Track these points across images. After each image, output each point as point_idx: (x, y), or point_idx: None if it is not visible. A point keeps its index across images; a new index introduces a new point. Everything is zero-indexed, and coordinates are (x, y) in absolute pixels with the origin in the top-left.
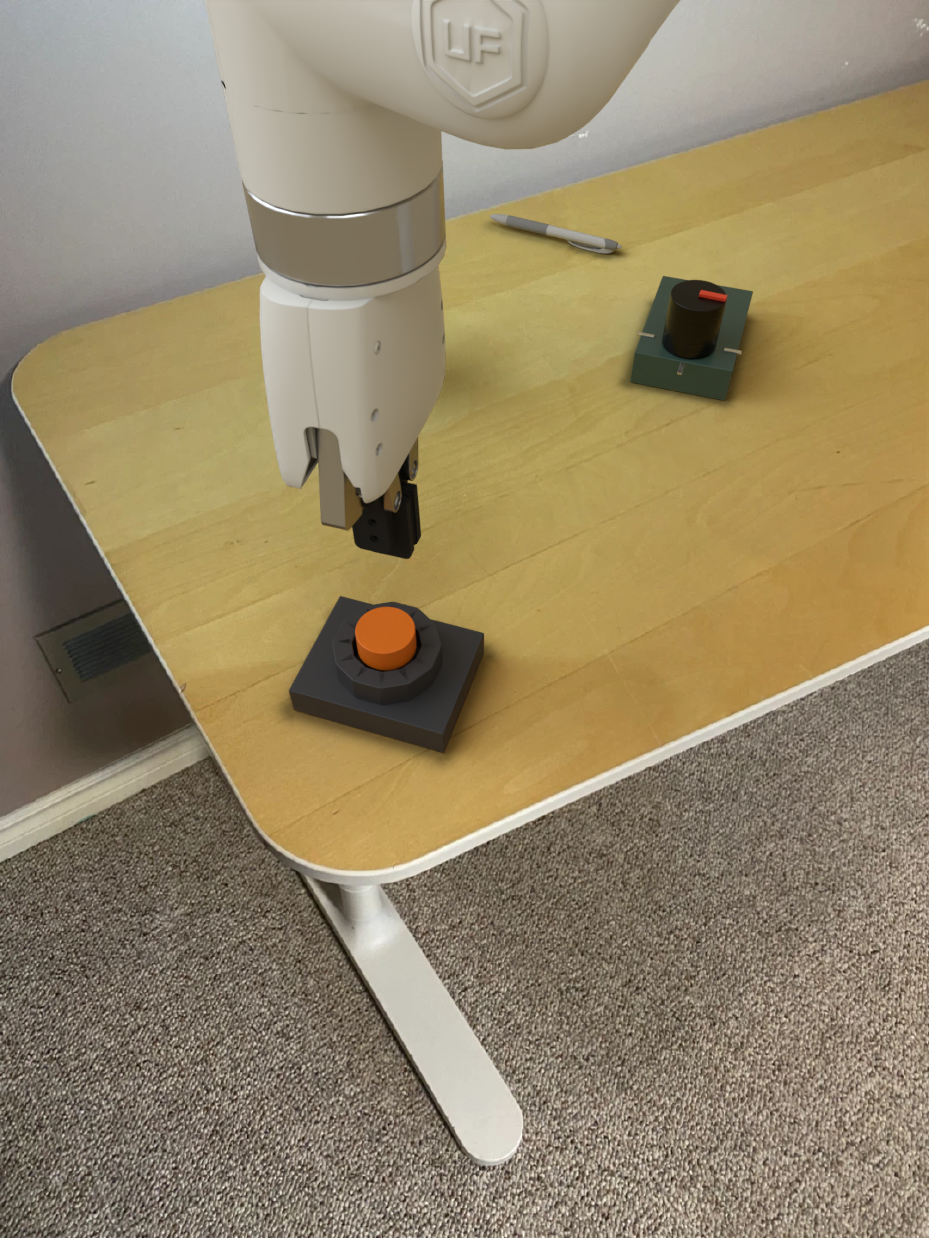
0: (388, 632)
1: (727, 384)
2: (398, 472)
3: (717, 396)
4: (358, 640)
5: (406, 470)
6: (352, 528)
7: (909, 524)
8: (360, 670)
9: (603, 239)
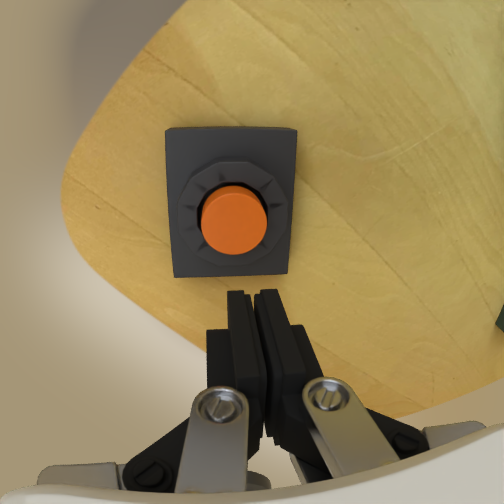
0: (231, 230)
1: (502, 330)
2: (292, 451)
3: (498, 321)
4: (210, 204)
5: (294, 463)
6: (230, 311)
7: (406, 413)
8: (190, 206)
9: None
